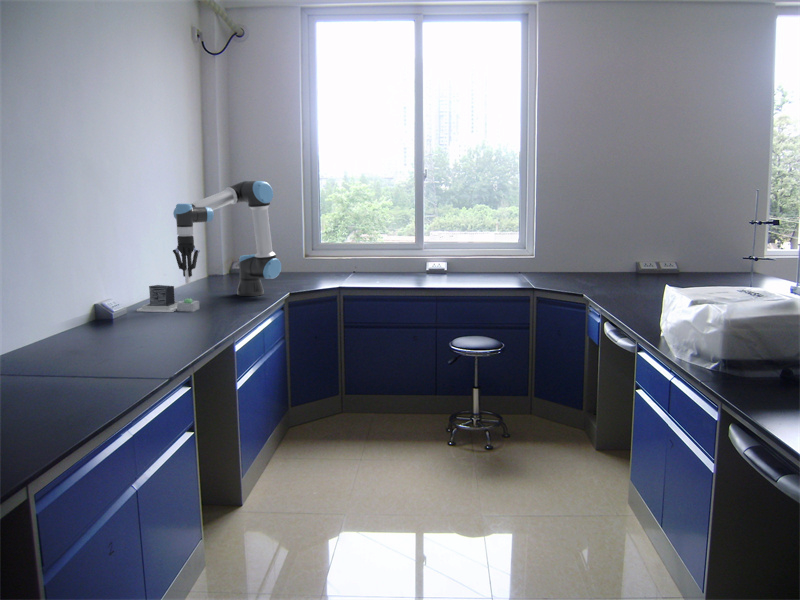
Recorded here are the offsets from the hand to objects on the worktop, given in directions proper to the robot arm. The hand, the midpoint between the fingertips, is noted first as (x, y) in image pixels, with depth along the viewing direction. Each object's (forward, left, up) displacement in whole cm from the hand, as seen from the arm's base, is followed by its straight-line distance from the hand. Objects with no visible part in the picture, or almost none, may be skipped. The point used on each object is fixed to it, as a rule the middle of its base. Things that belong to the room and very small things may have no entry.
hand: (188, 283), depth 308 cm
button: (0, 0, -12) cm, 12 cm away
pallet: (+14, -2, -13) cm, 20 cm away
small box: (+14, -2, -13) cm, 19 cm away
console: (0, 0, -13) cm, 13 cm away
